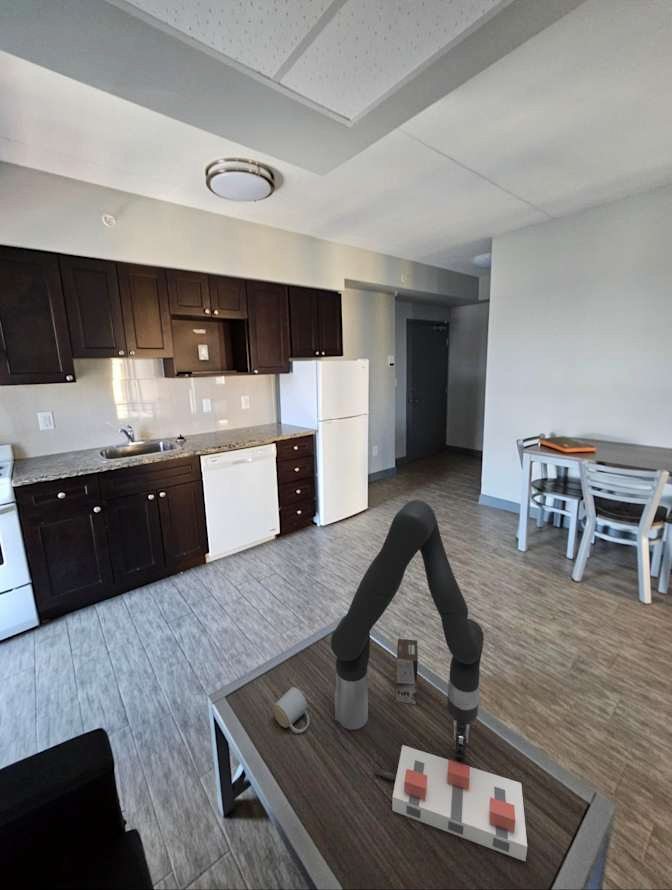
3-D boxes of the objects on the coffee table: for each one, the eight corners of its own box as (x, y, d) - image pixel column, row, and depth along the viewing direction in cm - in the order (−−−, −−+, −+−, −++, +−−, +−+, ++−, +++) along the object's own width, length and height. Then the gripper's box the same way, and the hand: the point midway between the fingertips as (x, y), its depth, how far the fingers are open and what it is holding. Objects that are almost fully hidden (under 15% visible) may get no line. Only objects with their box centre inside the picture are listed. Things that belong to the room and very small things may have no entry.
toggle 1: (404, 792, 92) (404, 781, 91) (406, 779, 94) (406, 768, 94) (425, 799, 90) (425, 788, 89) (426, 786, 93) (427, 775, 92)
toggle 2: (447, 782, 93) (447, 771, 93) (447, 770, 96) (448, 759, 95) (468, 789, 92) (469, 778, 91) (468, 777, 94) (469, 766, 94)
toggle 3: (489, 823, 85) (490, 811, 84) (489, 808, 88) (490, 796, 87) (514, 832, 84) (515, 820, 83) (512, 816, 86) (514, 805, 85)
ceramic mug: (272, 719, 116) (270, 699, 114) (291, 701, 122) (290, 681, 120) (296, 742, 109) (295, 721, 107) (316, 721, 115) (315, 701, 113)
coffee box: (416, 704, 120) (417, 661, 116) (395, 701, 121) (396, 658, 117) (416, 680, 128) (417, 639, 124) (397, 677, 130) (397, 637, 126)
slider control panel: (368, 802, 94) (367, 787, 93) (380, 750, 106) (380, 737, 105) (525, 862, 82) (527, 846, 81) (519, 797, 94) (521, 782, 93)
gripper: (449, 669, 105) (447, 717, 109) (445, 715, 92) (443, 767, 96) (478, 676, 103) (475, 724, 106) (479, 724, 90) (475, 777, 93)
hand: (460, 745), depth 101 cm, fingers open, 8 cm apart
